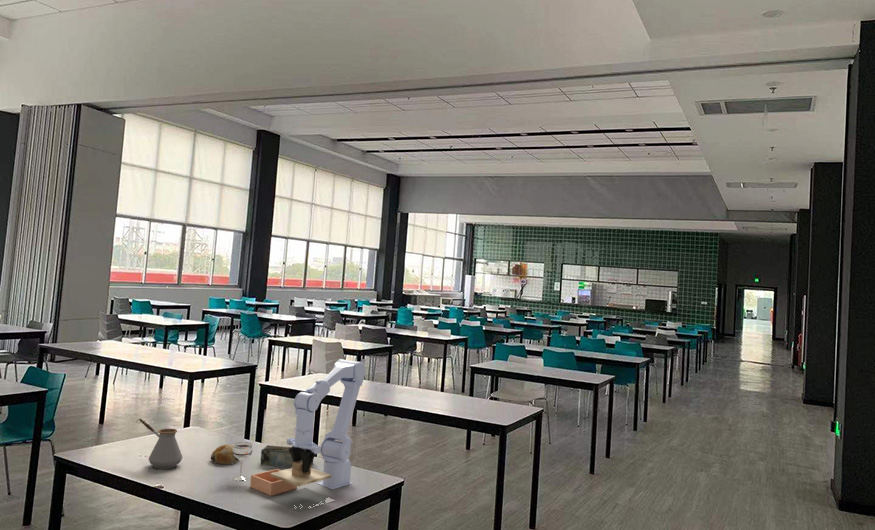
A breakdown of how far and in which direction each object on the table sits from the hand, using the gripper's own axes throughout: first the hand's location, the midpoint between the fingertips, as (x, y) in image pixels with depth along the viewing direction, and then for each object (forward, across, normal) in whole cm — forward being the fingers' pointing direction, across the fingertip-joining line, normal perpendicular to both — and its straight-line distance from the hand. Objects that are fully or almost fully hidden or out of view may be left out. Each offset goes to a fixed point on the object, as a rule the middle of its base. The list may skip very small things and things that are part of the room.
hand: (301, 470), depth 208 cm
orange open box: (+9, -13, 0) cm, 16 cm away
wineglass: (+10, -29, -2) cm, 31 cm away
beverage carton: (+10, -33, +22) cm, 40 cm away
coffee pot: (+10, -64, -14) cm, 66 cm away
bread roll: (+10, -51, +6) cm, 52 cm away
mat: (+9, +2, 0) cm, 10 cm away
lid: (+2, 0, 0) cm, 2 cm away
